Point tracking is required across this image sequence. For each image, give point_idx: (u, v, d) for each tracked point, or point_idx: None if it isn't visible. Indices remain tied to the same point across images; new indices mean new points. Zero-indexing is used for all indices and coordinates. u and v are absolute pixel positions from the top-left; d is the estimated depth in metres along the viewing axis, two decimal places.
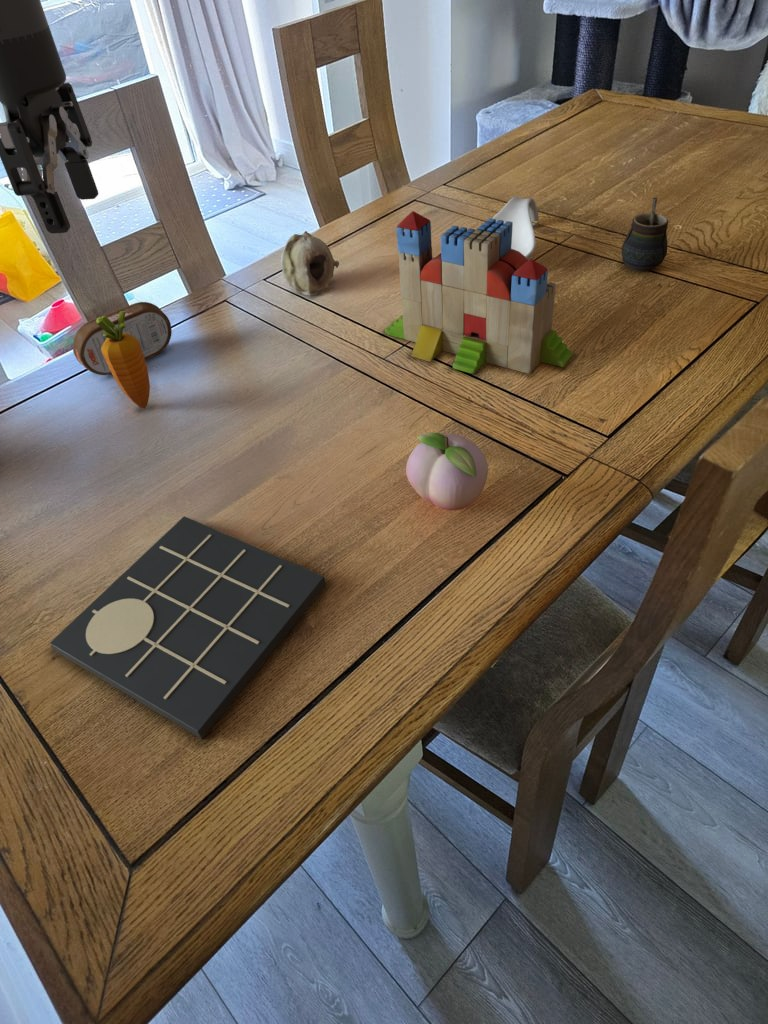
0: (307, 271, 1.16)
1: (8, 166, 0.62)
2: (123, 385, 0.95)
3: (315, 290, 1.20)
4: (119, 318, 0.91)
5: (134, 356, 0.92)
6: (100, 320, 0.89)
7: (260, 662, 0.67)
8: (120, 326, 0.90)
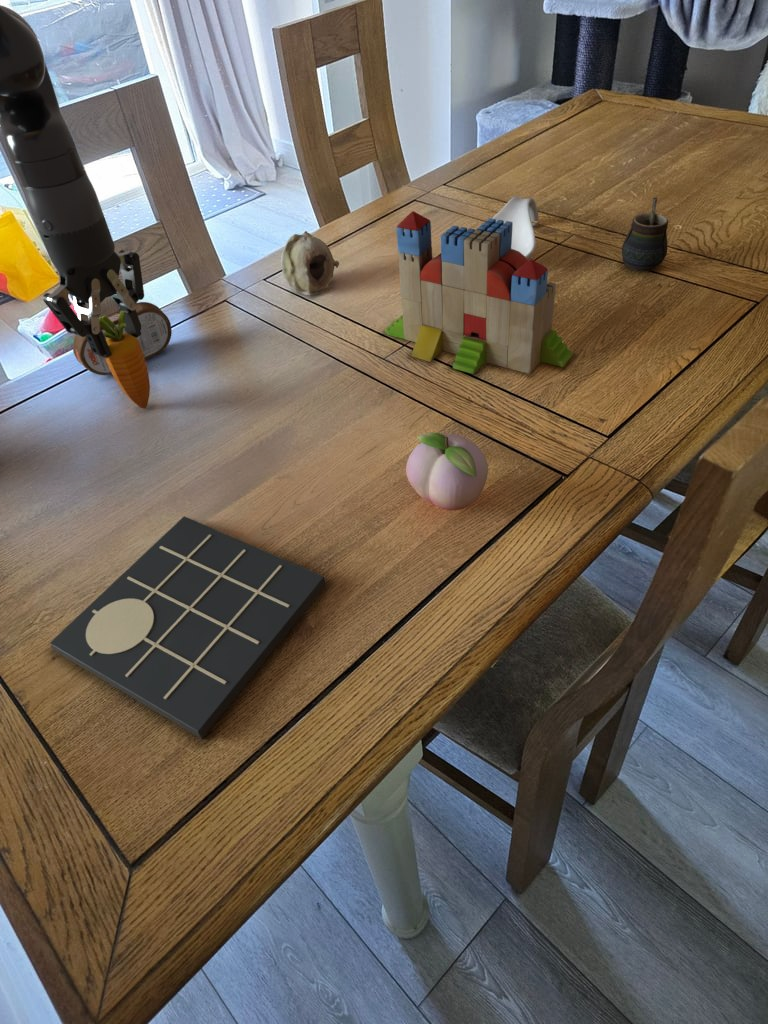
0: (307, 271, 1.16)
1: (59, 319, 0.85)
2: (123, 385, 0.95)
3: (315, 290, 1.20)
4: (119, 318, 0.91)
5: (135, 356, 0.92)
6: (100, 320, 0.89)
7: (260, 662, 0.67)
8: (120, 326, 0.90)
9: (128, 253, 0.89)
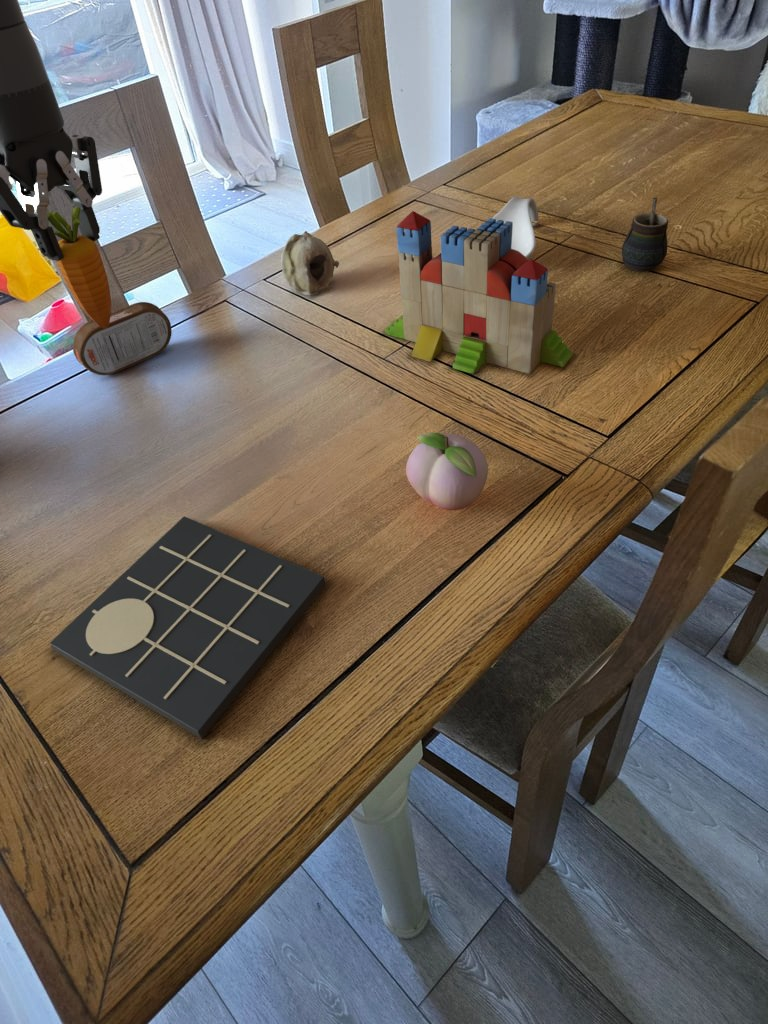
0: (307, 271, 1.16)
1: None
2: (79, 297, 0.83)
3: (315, 290, 1.20)
4: (73, 215, 0.79)
5: (91, 261, 0.80)
6: (50, 214, 0.76)
7: (260, 662, 0.67)
8: (74, 223, 0.77)
9: (82, 137, 0.77)
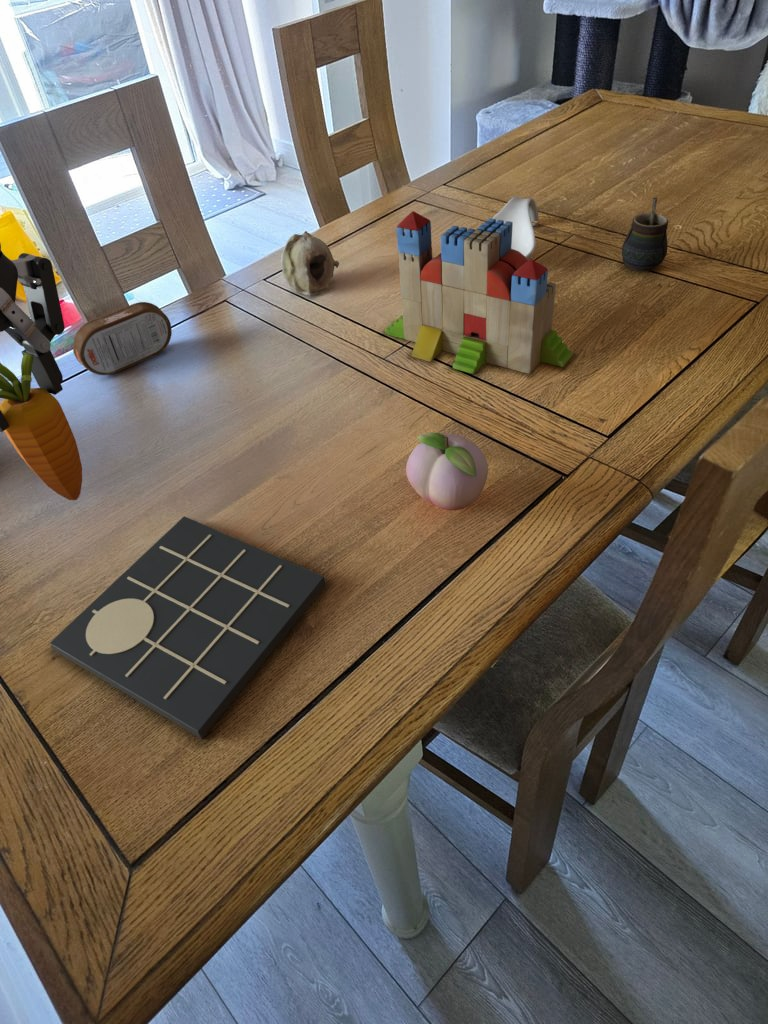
0: (307, 271, 1.16)
1: None
2: (36, 470, 0.59)
3: (315, 290, 1.20)
4: (22, 365, 0.55)
5: (51, 426, 0.57)
6: None
7: (260, 662, 0.67)
8: (22, 380, 0.54)
9: (33, 259, 0.53)
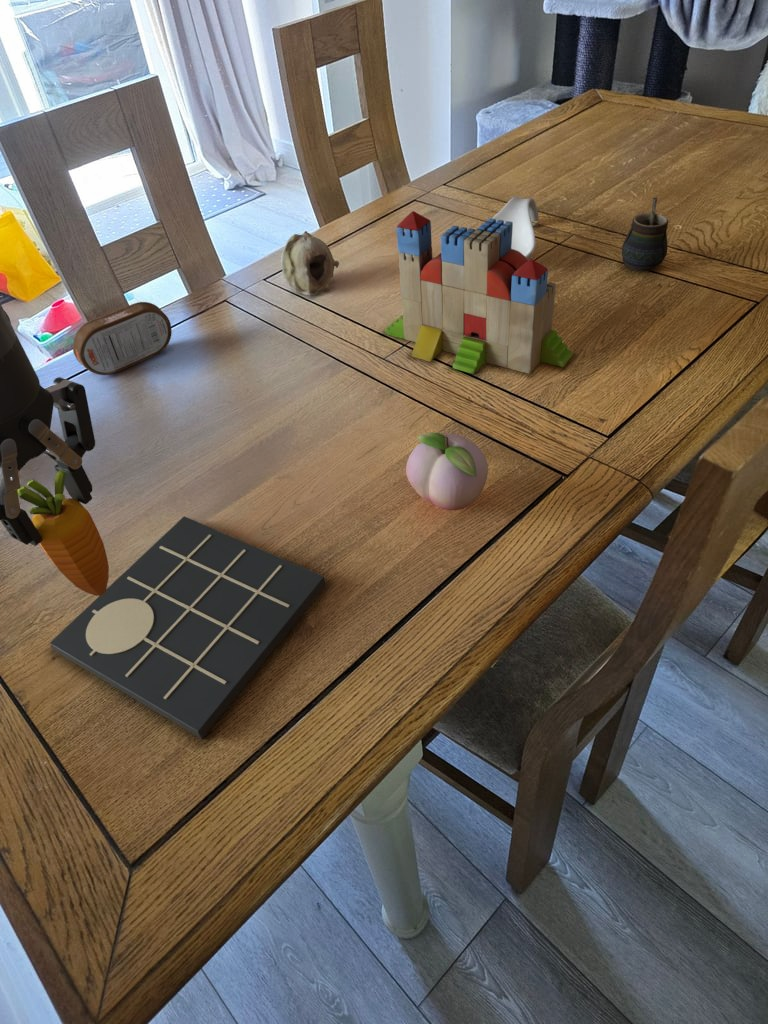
0: (307, 271, 1.16)
1: None
2: (66, 574, 0.62)
3: (315, 290, 1.20)
4: (56, 482, 0.58)
5: (81, 537, 0.59)
6: (23, 492, 0.56)
7: (260, 662, 0.67)
8: (56, 498, 0.57)
9: (67, 385, 0.56)
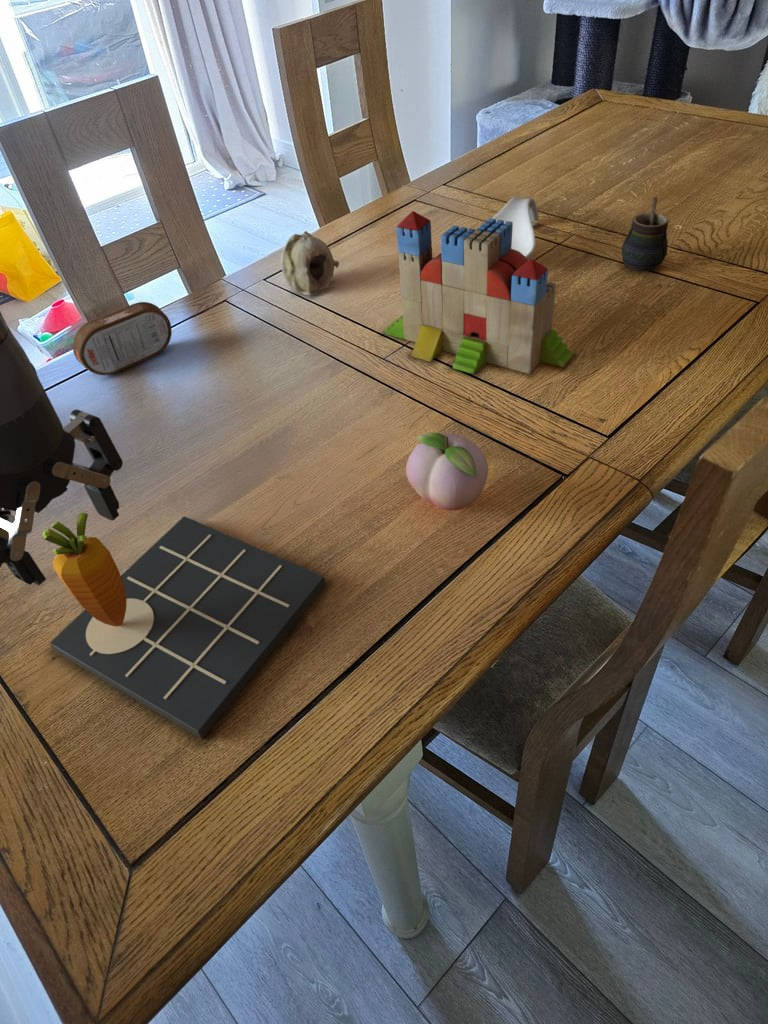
0: (307, 271, 1.16)
1: None
2: (87, 608, 0.65)
3: (315, 290, 1.20)
4: (78, 523, 0.61)
5: (102, 574, 0.63)
6: (48, 534, 0.59)
7: (260, 662, 0.67)
8: (79, 540, 0.60)
9: (83, 419, 0.58)
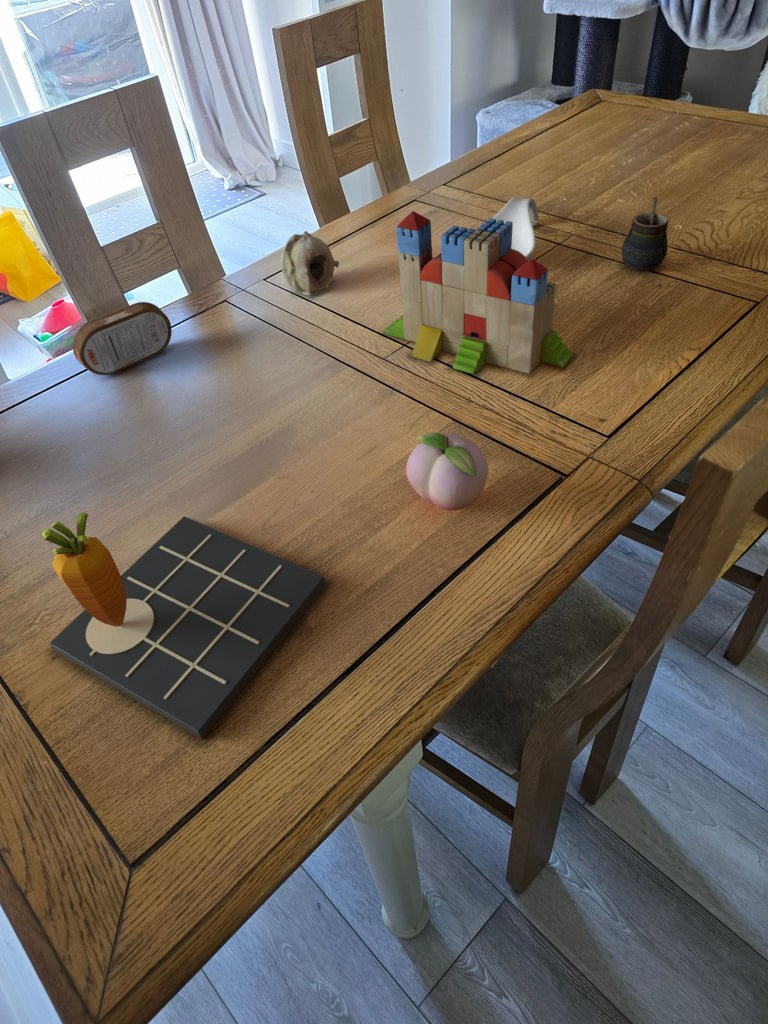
0: (307, 271, 1.16)
1: None
2: (87, 608, 0.65)
3: (315, 290, 1.20)
4: (78, 523, 0.61)
5: (102, 574, 0.63)
6: (48, 534, 0.59)
7: (260, 662, 0.67)
8: (79, 540, 0.60)
9: None
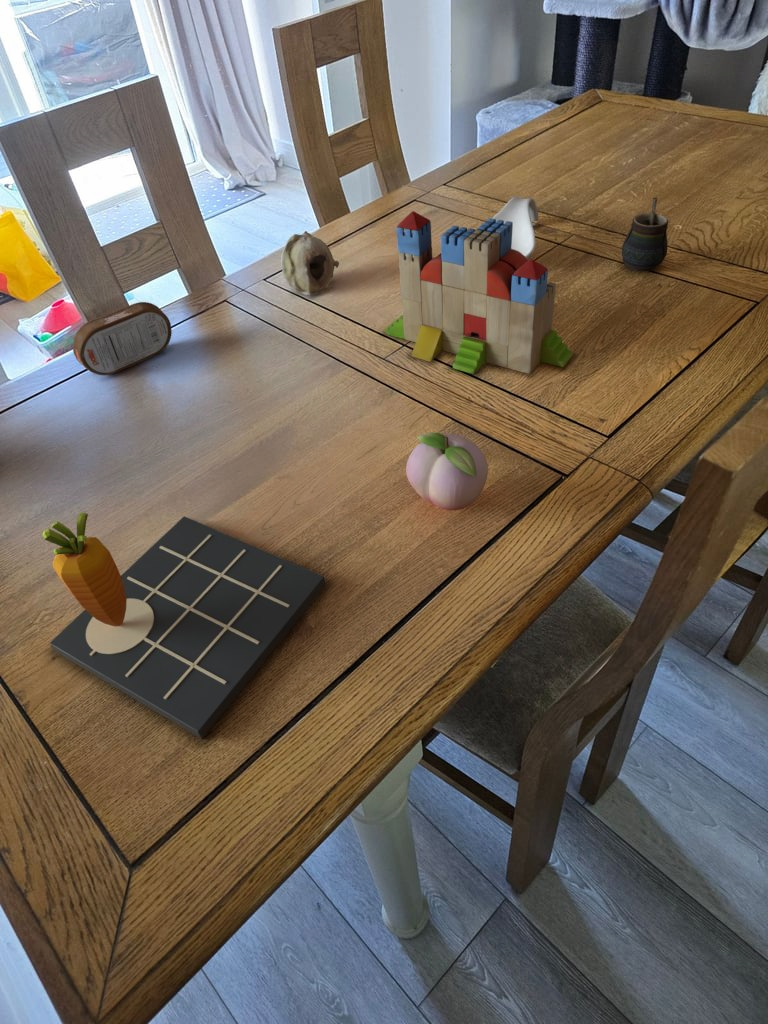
0: (307, 271, 1.16)
1: None
2: (87, 608, 0.65)
3: (315, 290, 1.20)
4: (78, 523, 0.61)
5: (102, 574, 0.63)
6: (48, 534, 0.59)
7: (260, 662, 0.67)
8: (79, 540, 0.60)
9: None
